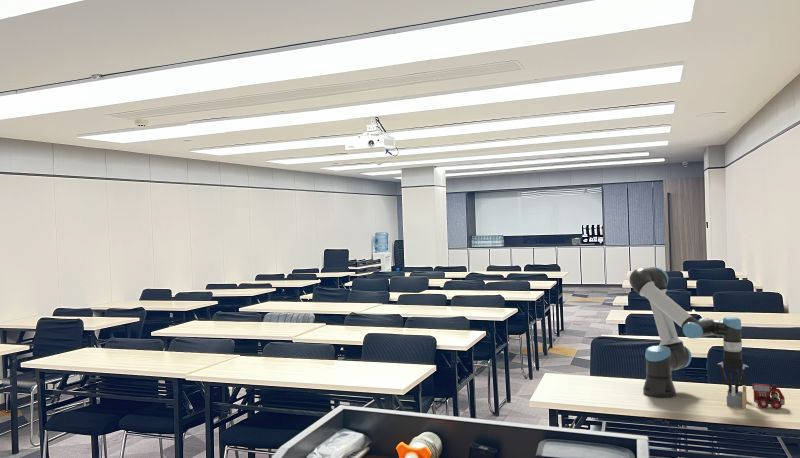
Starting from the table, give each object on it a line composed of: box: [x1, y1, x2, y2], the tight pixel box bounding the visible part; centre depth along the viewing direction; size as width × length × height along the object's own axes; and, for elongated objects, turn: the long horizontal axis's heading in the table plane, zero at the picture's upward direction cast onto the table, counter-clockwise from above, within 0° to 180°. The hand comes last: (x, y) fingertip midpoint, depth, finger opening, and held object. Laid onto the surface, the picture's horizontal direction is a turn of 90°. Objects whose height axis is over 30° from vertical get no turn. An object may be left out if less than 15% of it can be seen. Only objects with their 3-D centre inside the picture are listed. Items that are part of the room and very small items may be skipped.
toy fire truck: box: [751, 383, 786, 410], centre depth 261 cm, size 7×12×10 cm, turn 67°
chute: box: [726, 385, 748, 410], centre depth 267 cm, size 8×15×7 cm, turn 148°
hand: (733, 399), depth 268 cm, fingers closed
